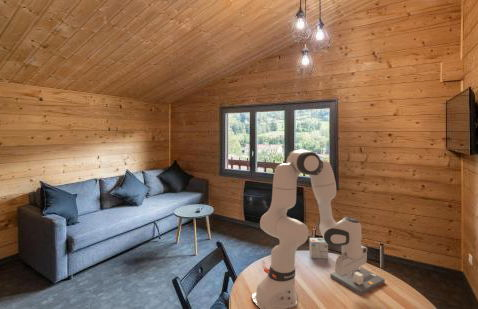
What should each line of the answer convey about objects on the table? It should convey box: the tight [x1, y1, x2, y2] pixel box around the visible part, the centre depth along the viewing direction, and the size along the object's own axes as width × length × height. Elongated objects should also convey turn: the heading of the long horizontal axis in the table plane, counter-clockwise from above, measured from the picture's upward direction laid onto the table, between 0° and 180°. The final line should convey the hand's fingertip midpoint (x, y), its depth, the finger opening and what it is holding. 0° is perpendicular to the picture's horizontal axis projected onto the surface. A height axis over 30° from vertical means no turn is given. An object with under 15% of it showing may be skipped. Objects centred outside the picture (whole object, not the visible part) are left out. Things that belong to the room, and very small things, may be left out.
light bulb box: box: [308, 237, 329, 259], centre depth 161 cm, size 11×7×11 cm, turn 84°
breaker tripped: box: [353, 272, 363, 285], centre depth 129 cm, size 3×4×4 cm
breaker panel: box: [329, 266, 386, 296], centre depth 135 cm, size 20×18×2 cm
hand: (350, 277), depth 125 cm, fingers closed
